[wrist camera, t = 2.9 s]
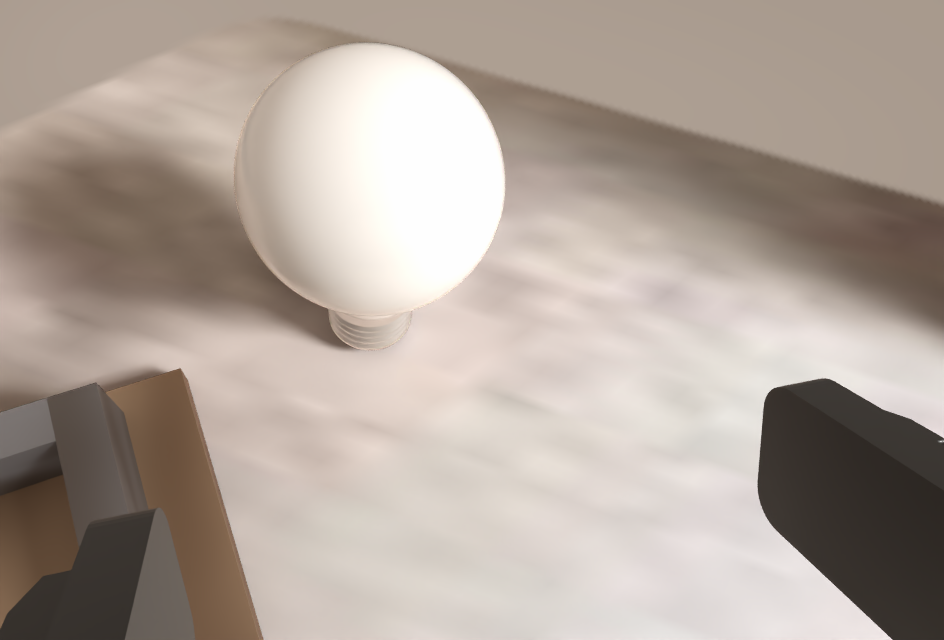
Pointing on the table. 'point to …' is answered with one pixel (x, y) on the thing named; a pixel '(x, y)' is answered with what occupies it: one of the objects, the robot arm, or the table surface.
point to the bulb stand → (118, 492)
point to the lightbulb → (369, 185)
